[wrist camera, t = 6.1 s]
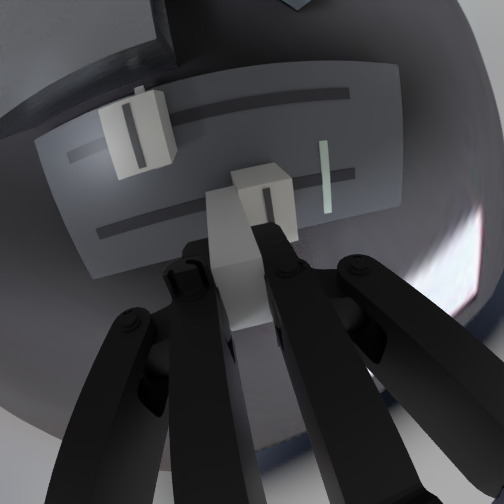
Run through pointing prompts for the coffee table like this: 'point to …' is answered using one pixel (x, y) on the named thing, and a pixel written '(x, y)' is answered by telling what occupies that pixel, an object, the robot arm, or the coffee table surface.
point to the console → (233, 156)
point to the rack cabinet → (75, 53)
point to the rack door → (297, 3)
